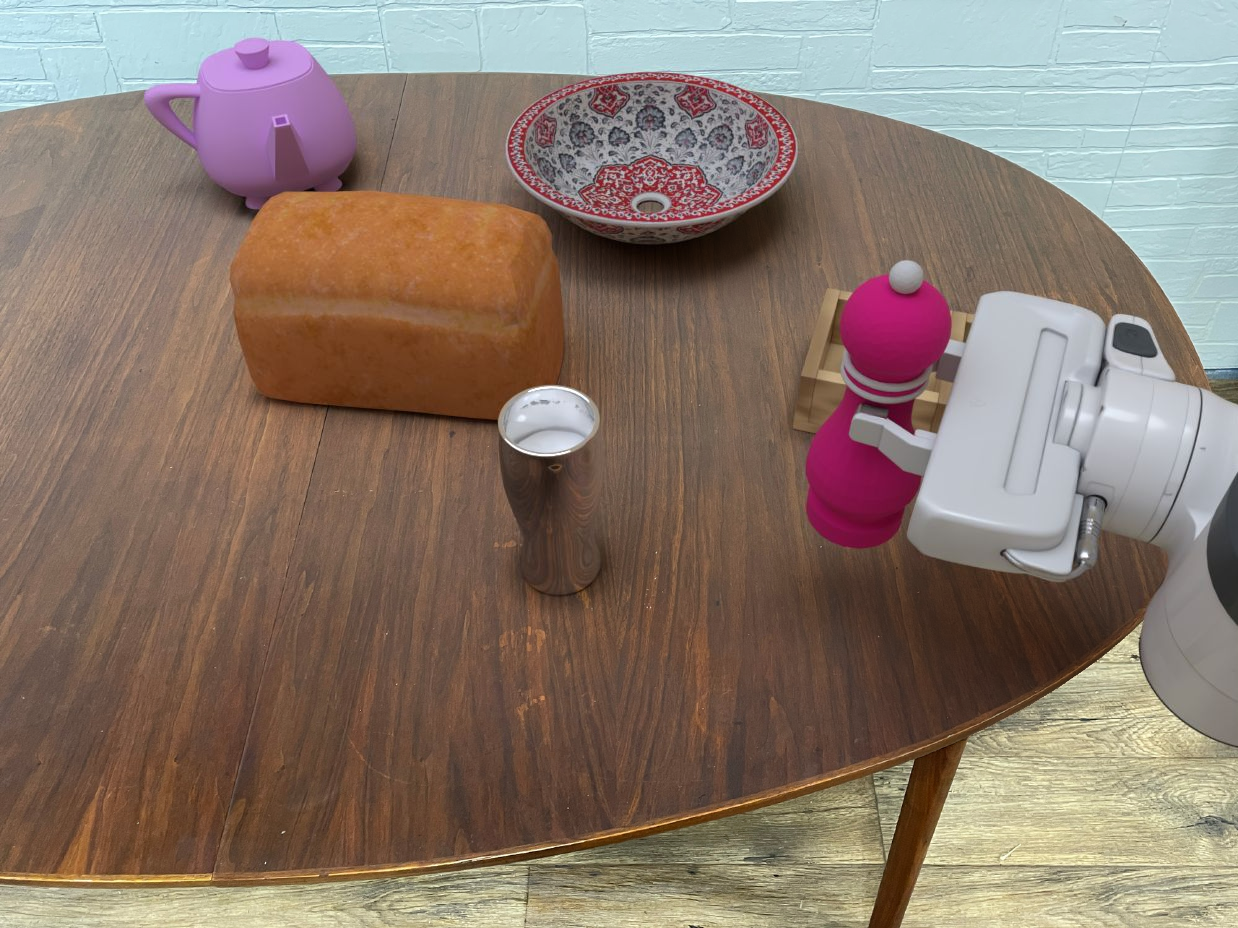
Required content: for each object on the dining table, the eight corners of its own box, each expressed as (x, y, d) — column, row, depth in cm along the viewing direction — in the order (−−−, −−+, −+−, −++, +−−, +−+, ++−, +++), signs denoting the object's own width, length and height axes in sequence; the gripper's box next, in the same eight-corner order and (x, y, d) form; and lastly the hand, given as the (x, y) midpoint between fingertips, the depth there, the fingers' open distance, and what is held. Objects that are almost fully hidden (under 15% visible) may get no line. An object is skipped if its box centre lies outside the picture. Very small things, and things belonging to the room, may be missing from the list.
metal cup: (619, 538, 79) (617, 394, 68) (589, 611, 75) (582, 468, 64) (533, 518, 81) (518, 373, 70) (499, 587, 76) (477, 444, 65)
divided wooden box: (1078, 390, 90) (1100, 336, 85) (1075, 488, 82) (1100, 434, 78) (818, 340, 95) (826, 287, 90) (792, 428, 87) (800, 375, 83)
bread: (544, 433, 87) (530, 280, 75) (245, 405, 90) (188, 252, 78) (572, 329, 96) (564, 178, 85) (301, 305, 99) (257, 156, 87)
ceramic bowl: (483, 281, 101) (474, 211, 95) (541, 130, 121) (536, 64, 115) (784, 306, 98) (794, 234, 92) (793, 146, 118) (802, 79, 112)
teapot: (197, 261, 104) (145, 122, 93) (170, 164, 117) (122, 32, 106) (388, 214, 109) (361, 78, 98) (343, 127, 122) (315, -3, 111)
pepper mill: (898, 473, 72) (963, 224, 57) (917, 556, 67) (995, 305, 52) (792, 474, 72) (831, 225, 57) (804, 556, 67) (850, 306, 52)
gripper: (1073, 627, 53) (810, 546, 57) (1112, 381, 66) (896, 328, 70) (1113, 549, 49) (825, 467, 53) (1147, 301, 62) (914, 249, 65)
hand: (866, 386), depth 61 cm, fingers closed on pepper mill, 5 cm apart
